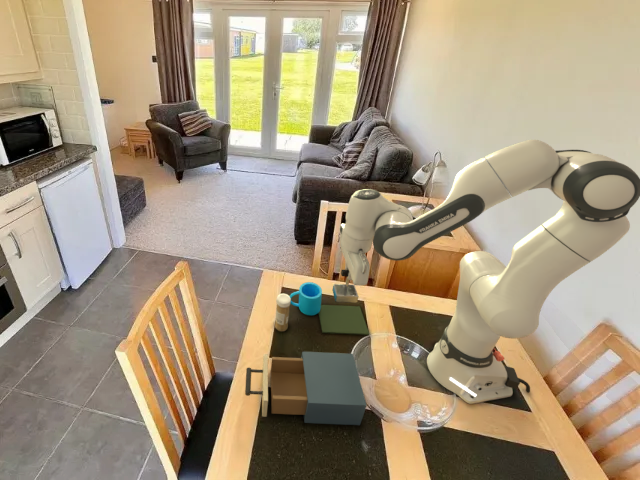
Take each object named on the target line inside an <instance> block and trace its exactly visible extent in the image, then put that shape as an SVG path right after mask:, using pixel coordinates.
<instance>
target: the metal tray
mask: <svg viewBox="0 0 640 480" xmlns="http://www.w3.org/2000/svg"><path fill="white" fill-rule="evenodd" d="M348 273H349V270H345V269H341V270H340V274H341V277H346V279H345V283H333V285H332V294H333V298H334V302H335V303H345V304H347V303H349V304H357V303H358V302H359V294H358V291H357V288H356V285H354V284H351V283H350V280H348V277H347V275H348Z"/></svg>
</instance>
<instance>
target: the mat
mask: <svg viewBox="0 0 640 480" xmlns="http://www.w3.org/2000/svg"><path fill="white" fill-rule="evenodd" d="M361 308H362V307H361V306H360V305H337V304H335V305H333V304H321V309H320V312H318V313H317V314H318V317H319V323H320V328H321V334H340V335H342V334H343V335H358V336H359V335H362V336H370V332H369V328H368V326H367V323H366V320H365V318H364V314H363V312H362V309H361Z"/></svg>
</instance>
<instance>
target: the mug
mask: <svg viewBox="0 0 640 480" xmlns="http://www.w3.org/2000/svg"><path fill="white" fill-rule="evenodd" d="M297 295H298V303H296V302H294V301H292V300H291V303H290V305H292V306H294V307H298V309H299V310H300V312H301V313H302V314H304V315H306V316H315V315H318V314H319V313H318V312H320V309H321V305H322V296H323V289H322V288H321V286H320V284H317V283H315V282H311V281H307V282H304V283H302V284H300V286H299V288H298V290H297V291H293V292H292V293H290V295H289V296H290V298H291V299H292V298H293V297H294V296H297Z"/></svg>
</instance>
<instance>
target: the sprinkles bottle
mask: <svg viewBox="0 0 640 480" xmlns="http://www.w3.org/2000/svg"><path fill="white" fill-rule="evenodd" d="M291 301H292V298H290V295H289V294H288V293H280V294H278V295H277V297H276V309H275V322H274V328H275V329H276V330H277V331H278V332H285V331H287V330H288V327H289V317H290V307H291Z"/></svg>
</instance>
